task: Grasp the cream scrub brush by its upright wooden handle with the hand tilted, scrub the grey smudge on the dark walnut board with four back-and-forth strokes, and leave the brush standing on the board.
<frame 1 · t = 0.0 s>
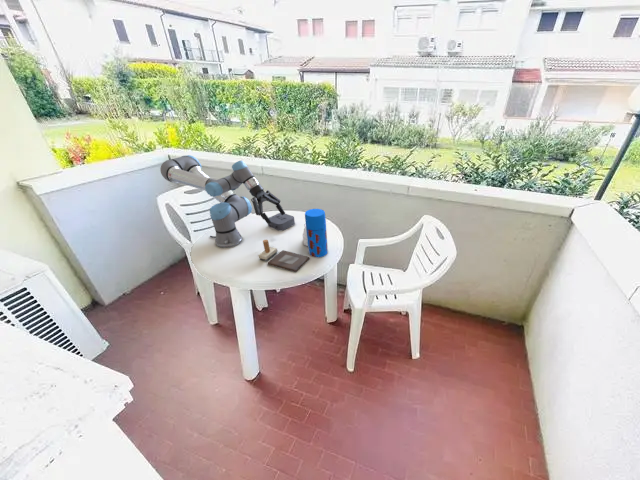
hand: (277, 218, 166), 15 cm above the table, tool tilted 35°, fingers open, 13 cm apart
scrub brush: (268, 256, 160), on the table
walnut board: (289, 261, 156), on the table
streaming box: (281, 225, 193), on the table
thermos: (318, 252, 164), on the table
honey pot: (313, 241, 174), on the table
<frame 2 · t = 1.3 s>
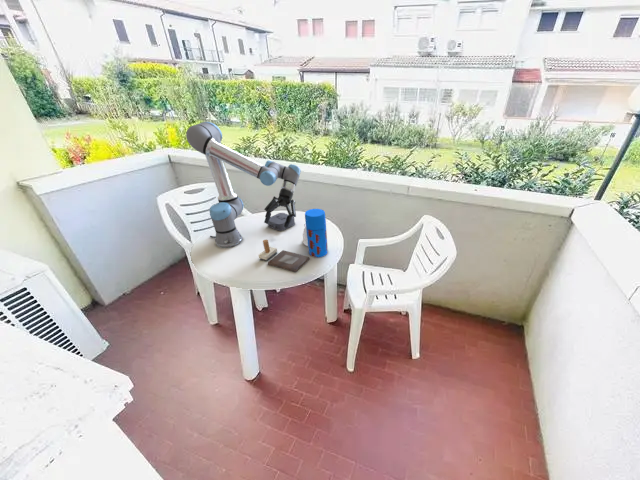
hand: (275, 225, 160), 15 cm above the table, tool tilted 45°, fingers open, 13 cm apart
nothing on the table moved.
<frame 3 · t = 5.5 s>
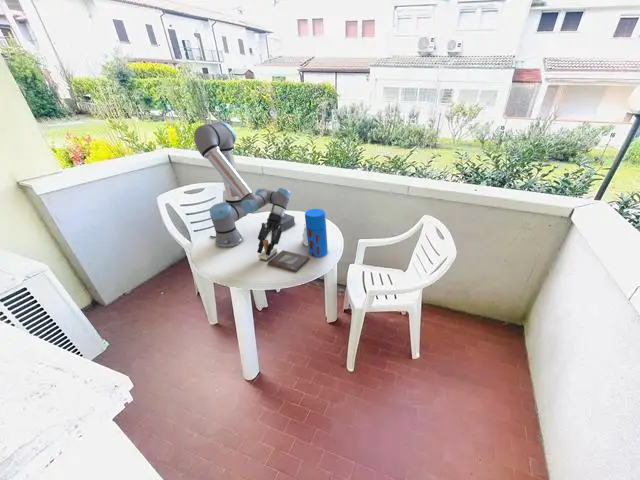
hand: (263, 253, 155), 4 cm above the table, tool tilted 45°, fingers closed on scrub brush, 5 cm apart
scrub brush: (268, 256, 160), on the table, touching gripper
everything else where it was.
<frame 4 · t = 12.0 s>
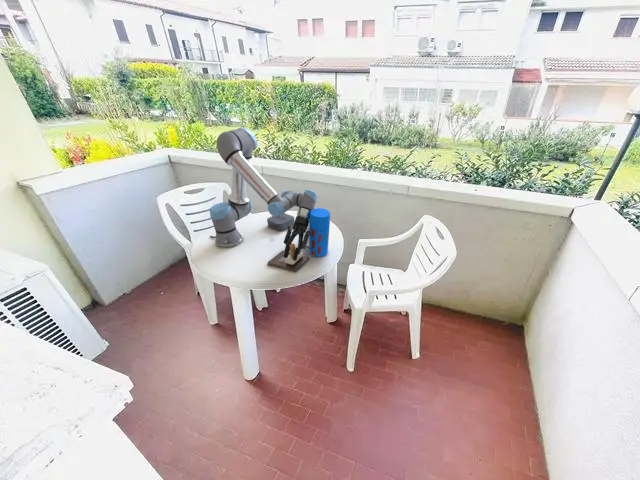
hand: (289, 258, 149), 5 cm above the table, tool tilted 45°, fingers closed on scrub brush, 5 cm apart
scrub brush: (294, 260, 154), point 2 cm above the table, touching gripper
thermos: (318, 251, 163), on the table, touching arm
everything else where it was.
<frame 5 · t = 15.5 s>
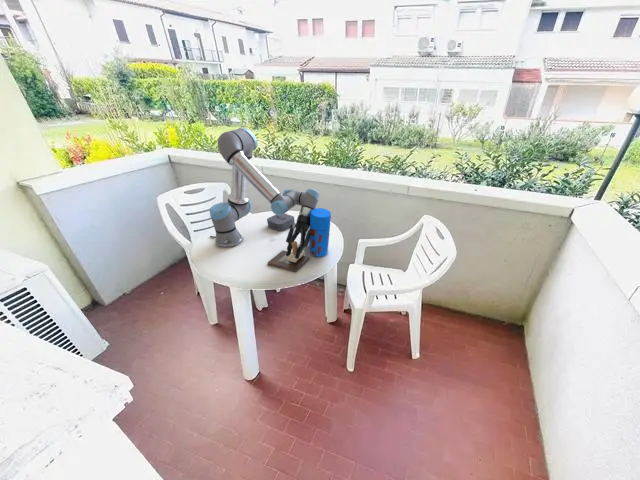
hand: (292, 257, 150), 5 cm above the table, tool tilted 45°, fingers closed on scrub brush, 5 cm apart
scrub brush: (296, 258, 155), point 2 cm above the table, touching gripper
thermos: (318, 251, 163), point 1 cm above the table, touching hand
everything else where it was.
when the fingers open (5 cm above the table, at t = 19.1 s): scrub brush stays where it is, resting on walnut board.
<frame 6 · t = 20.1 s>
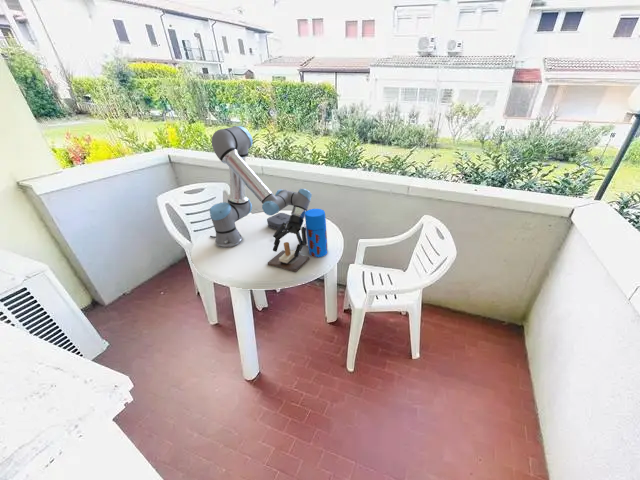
hand: (285, 253, 150), 7 cm above the table, tool tilted 45°, fingers open, 13 cm apart
scrub brush: (288, 259, 155), point 2 cm above the table, touching walnut board
thermos: (318, 252, 164), on the table
everything else where it was.
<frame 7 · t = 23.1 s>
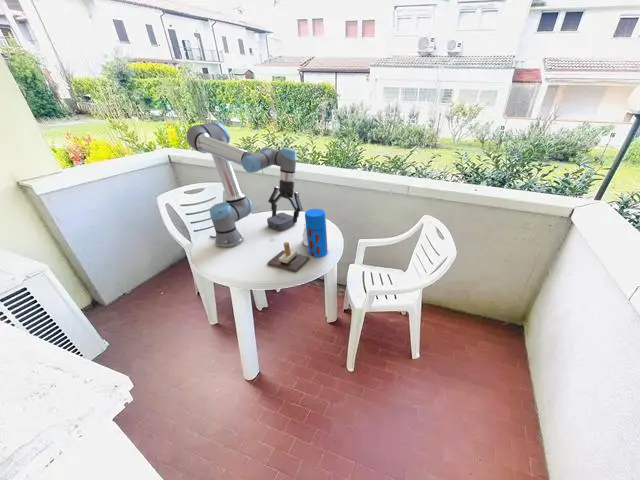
hand: (284, 219, 155), 20 cm above the table, tool pointing down, fingers open, 13 cm apart
nothing on the table moved.
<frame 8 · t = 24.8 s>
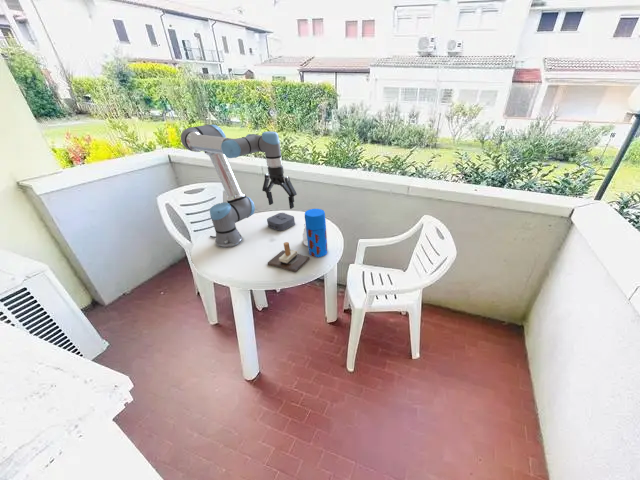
hand: (281, 206, 153), 27 cm above the table, tool pointing down, fingers open, 13 cm apart
nothing on the table moved.
at the end: scrub brush inside the target area (0.0 cm from its centre), point 1.6 cm above the table; scrub brush tilted 0°; the gripper is holding nothing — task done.
